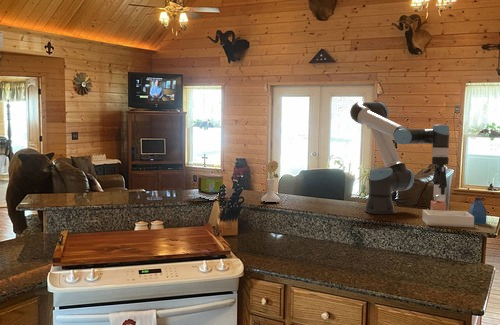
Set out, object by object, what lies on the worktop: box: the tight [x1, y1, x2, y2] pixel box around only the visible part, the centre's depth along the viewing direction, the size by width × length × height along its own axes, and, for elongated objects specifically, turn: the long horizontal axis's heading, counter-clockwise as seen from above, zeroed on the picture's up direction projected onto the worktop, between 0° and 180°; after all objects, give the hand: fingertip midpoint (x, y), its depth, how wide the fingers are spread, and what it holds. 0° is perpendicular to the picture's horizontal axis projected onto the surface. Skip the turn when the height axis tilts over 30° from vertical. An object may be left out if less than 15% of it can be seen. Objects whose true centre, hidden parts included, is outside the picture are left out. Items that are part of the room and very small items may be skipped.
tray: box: [422, 209, 475, 228], centre depth 222 cm, size 13×20×5 cm, turn 79°
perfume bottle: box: [468, 196, 487, 225], centre depth 225 cm, size 6×6×12 cm
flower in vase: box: [260, 160, 281, 203], centre depth 275 cm, size 13×11×25 cm
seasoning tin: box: [429, 200, 447, 211], centre depth 233 cm, size 6×6×8 cm
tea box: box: [197, 173, 224, 197], centre depth 289 cm, size 15×10×15 cm
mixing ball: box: [433, 195, 442, 203], centre depth 233 cm, size 4×4×4 cm
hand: (439, 199), depth 232 cm, fingers open, 13 cm apart
